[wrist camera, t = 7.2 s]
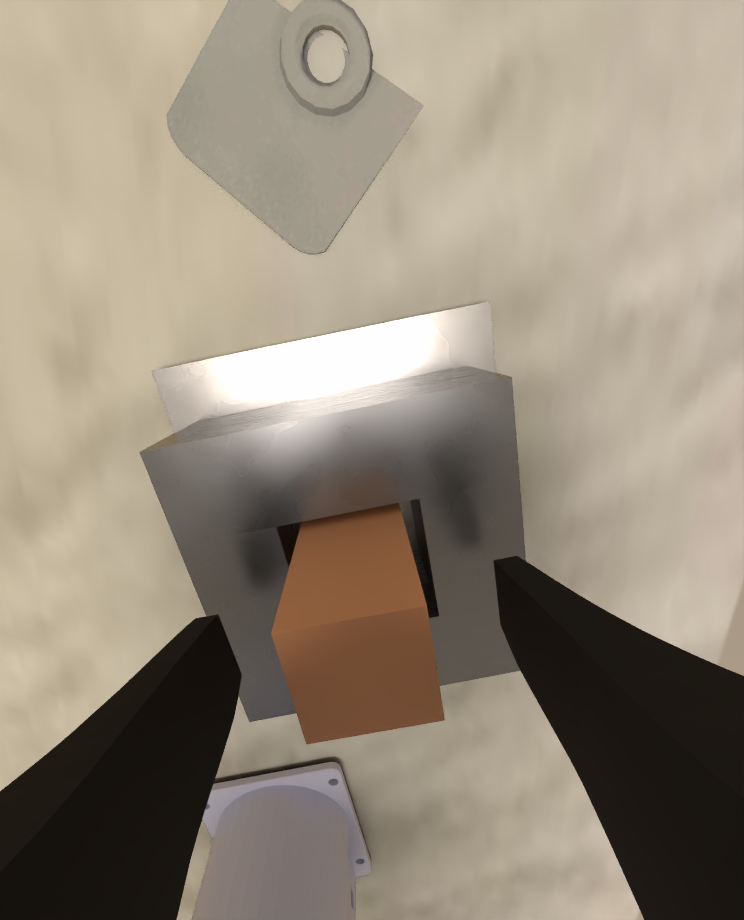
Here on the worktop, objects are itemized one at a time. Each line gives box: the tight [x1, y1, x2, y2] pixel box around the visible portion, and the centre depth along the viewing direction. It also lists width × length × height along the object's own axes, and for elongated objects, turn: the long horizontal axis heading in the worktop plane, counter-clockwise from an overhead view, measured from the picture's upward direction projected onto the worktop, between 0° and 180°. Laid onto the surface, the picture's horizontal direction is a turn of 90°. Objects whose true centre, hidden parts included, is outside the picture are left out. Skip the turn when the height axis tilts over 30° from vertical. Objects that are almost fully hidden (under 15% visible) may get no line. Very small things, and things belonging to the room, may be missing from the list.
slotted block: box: [140, 301, 526, 722], centre depth 14 cm, size 14×12×5 cm
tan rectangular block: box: [271, 503, 445, 744], centre depth 11 cm, size 3×3×8 cm
